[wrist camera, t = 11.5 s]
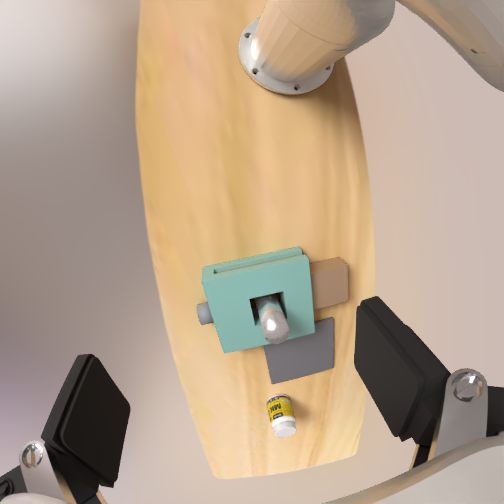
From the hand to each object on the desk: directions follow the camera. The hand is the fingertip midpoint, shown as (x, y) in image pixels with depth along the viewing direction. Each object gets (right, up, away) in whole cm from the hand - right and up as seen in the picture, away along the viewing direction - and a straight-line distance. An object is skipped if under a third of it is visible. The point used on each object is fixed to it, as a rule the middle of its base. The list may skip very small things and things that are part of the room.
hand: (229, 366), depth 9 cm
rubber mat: (+9, -14, +37) cm, 40 cm away
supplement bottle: (+6, -26, +41) cm, 49 cm away
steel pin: (+3, -2, +32) cm, 32 cm away
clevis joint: (+4, -2, +32) cm, 32 cm away
